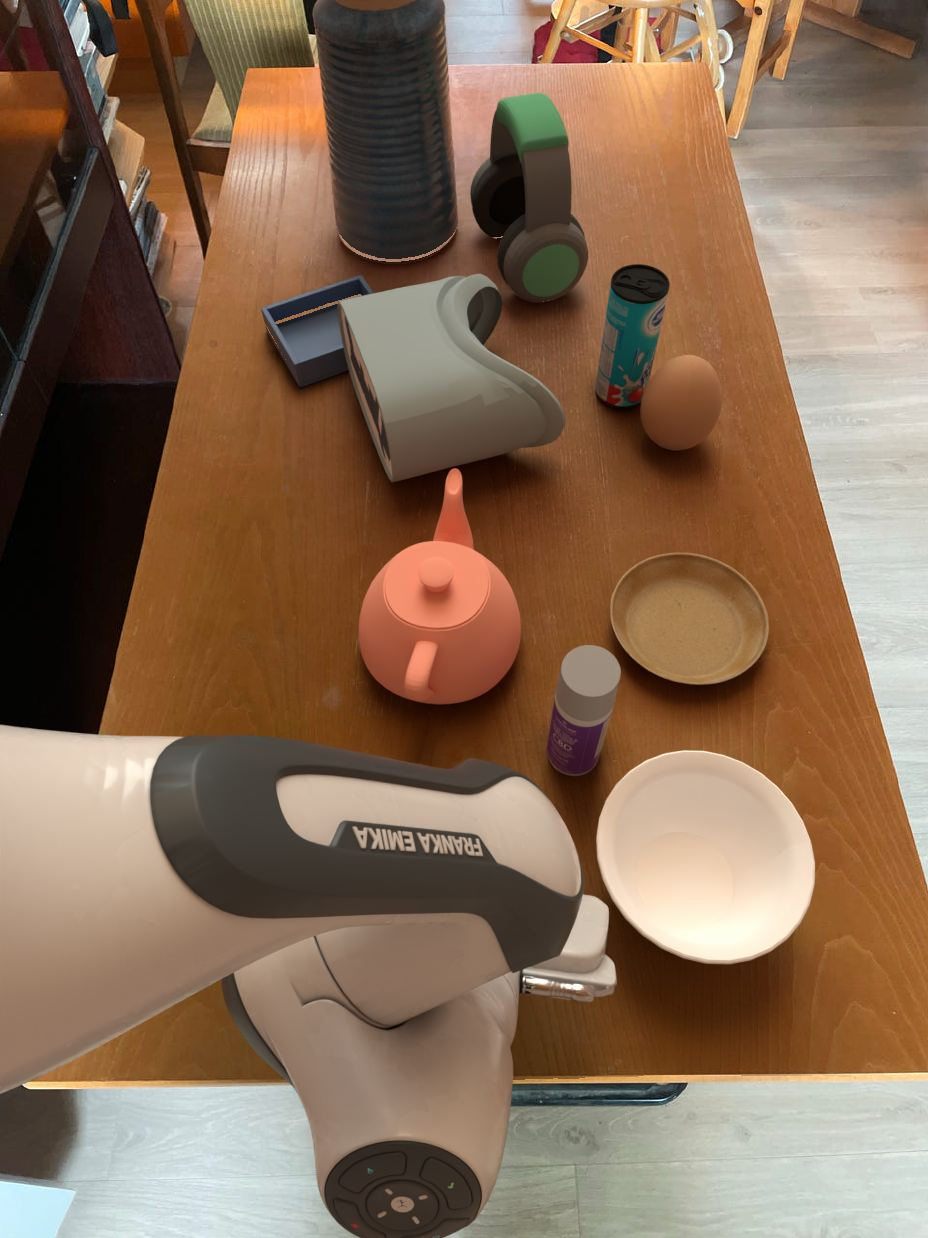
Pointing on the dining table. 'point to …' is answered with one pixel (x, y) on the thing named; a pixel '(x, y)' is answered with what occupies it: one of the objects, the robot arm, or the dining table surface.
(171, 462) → the dining table surface
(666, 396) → the egg
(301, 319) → the blue tray
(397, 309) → the virtual reality goggles
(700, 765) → the bowl
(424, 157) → the vase
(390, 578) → the teapot
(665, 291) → the beverage can
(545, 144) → the headphones
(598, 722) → the container
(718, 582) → the plant saucer
